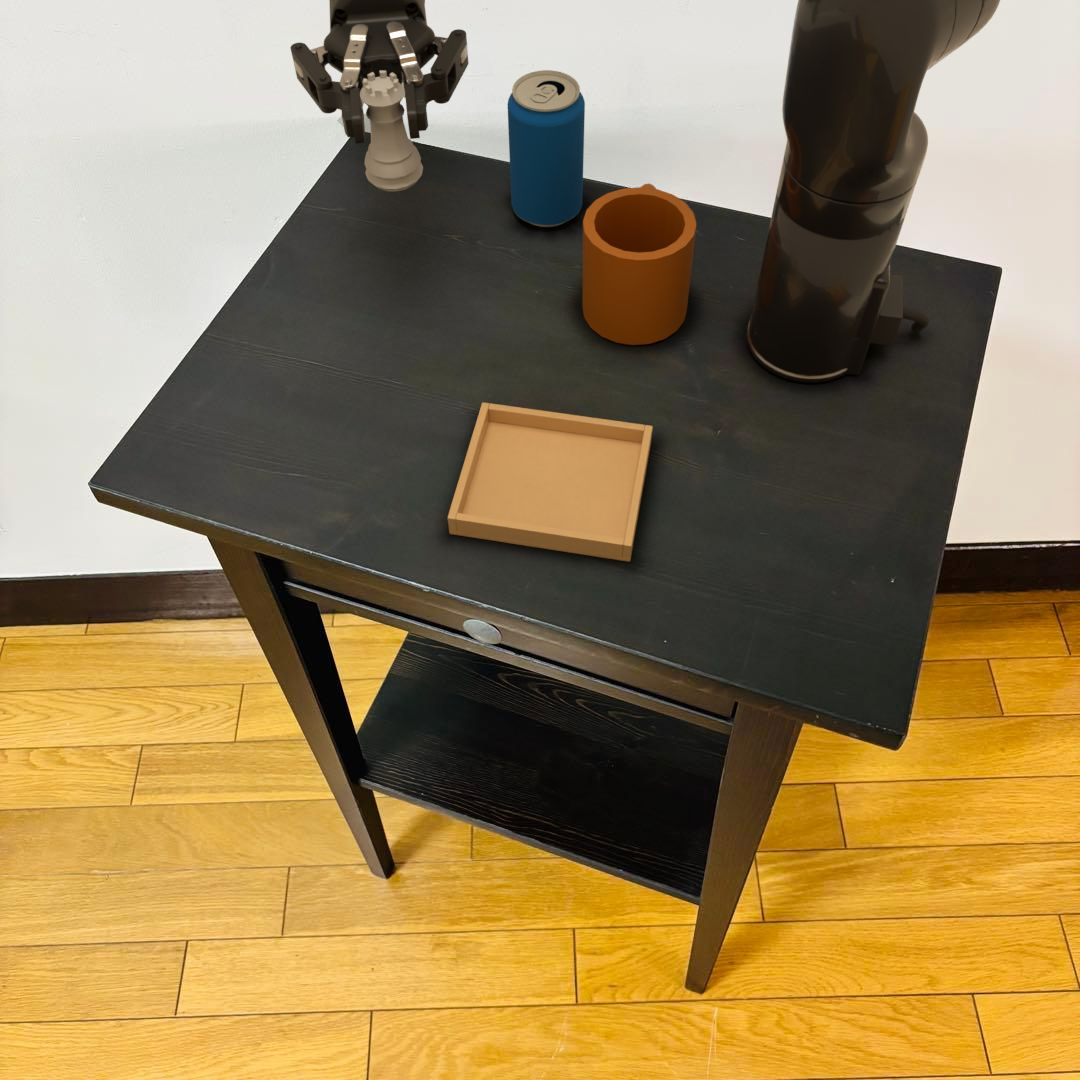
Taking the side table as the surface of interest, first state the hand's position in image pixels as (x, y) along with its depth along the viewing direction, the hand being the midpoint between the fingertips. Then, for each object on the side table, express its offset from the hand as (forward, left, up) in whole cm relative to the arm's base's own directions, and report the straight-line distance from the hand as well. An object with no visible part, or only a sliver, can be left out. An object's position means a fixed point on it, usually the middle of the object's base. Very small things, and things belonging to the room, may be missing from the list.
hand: (386, 129), depth 76 cm
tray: (-15, +16, -18) cm, 28 cm away
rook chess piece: (+1, -3, -6) cm, 7 cm away
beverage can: (-9, -15, -18) cm, 25 cm away
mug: (-19, -5, -18) cm, 26 cm away
